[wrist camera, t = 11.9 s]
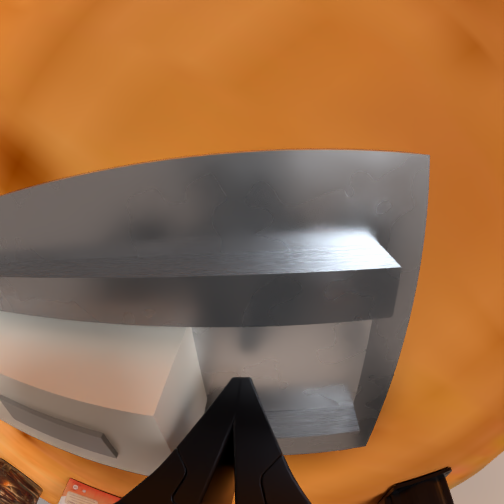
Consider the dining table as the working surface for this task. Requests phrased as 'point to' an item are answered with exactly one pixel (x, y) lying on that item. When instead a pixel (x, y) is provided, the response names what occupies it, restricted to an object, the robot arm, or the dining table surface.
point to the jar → (16, 486)
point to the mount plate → (240, 270)
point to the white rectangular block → (101, 387)
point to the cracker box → (85, 495)
